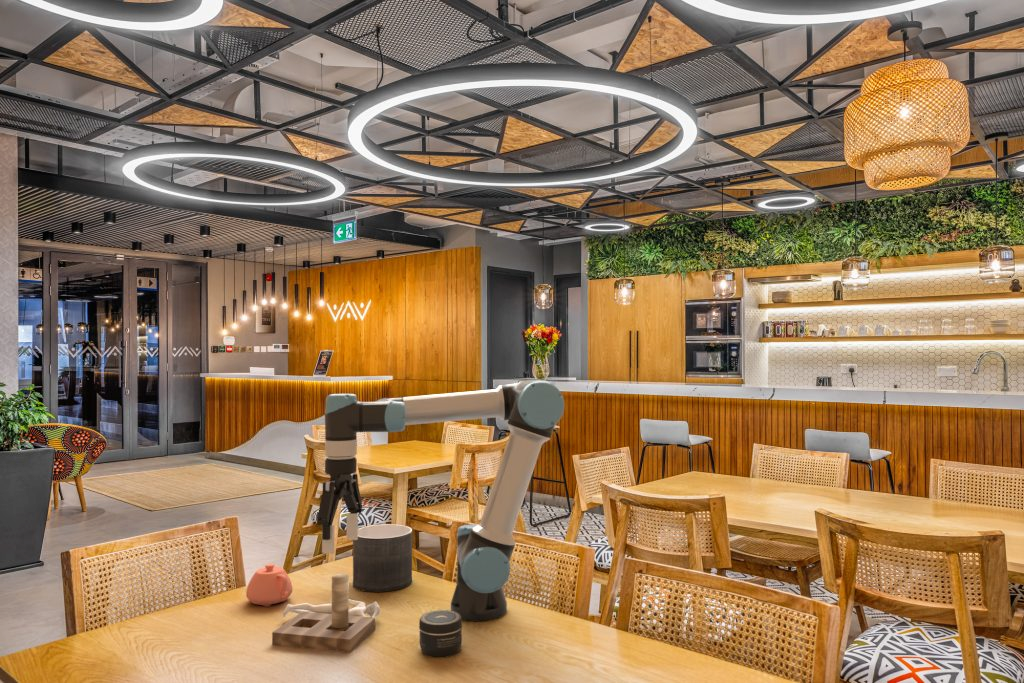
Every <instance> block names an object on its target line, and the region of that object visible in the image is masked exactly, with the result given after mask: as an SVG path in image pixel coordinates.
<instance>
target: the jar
mask: <svg viewBox="0 0 1024 683" xmlns="http://www.w3.org/2000/svg"><path fill="white" fill-rule="evenodd" d="M418 625H419V626H418V629H419V647H420V651H421V653H423V654H424V655H425V656H427V657H430V658H438V659H440V658H442V659H443V658H449V657H452V656H454V655H456V654H457V653H458V652H459V651H460V649H461V646H462V641H463V640H462V639H463V635H462V634H463V633H462V632H463V631H462V629H463V620H462V617H461V615H460V614H458V613H457V612H454V611H451V610H446V609H444V610H443V609H441V610H432V611H429V612H425V613H424V614H422V615H421V616H420V617H419V624H418Z"/></svg>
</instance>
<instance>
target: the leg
mask: <svg viewBox="0 0 1024 683" xmlns="http://www.w3.org/2000/svg"><path fill="white" fill-rule="evenodd" d="M349 577H350V576H349V574H347V573H338V574H334V575H332V576H331V600H332V601H331V603H332V625H331V628H332V630H339V631H346V630H347V629H348V628H349V610H350V609H349V606H350V603H349V599H350V598H349V596H350V594H349V593H350V592H349V591H350V590H349V587H350V586H349V584H350V583H349V582H350V579H349Z"/></svg>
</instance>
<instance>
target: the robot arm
mask: <svg viewBox="0 0 1024 683" xmlns="http://www.w3.org/2000/svg"><path fill="white" fill-rule="evenodd" d="M357 396H358V395H356V394H354V393H333V394H328V395H327V396H326V398H325V407H324V408H325V412H324V431H325V432H324V437H325V438H324V439H325V441H324V442H325V443H324V444H323V445H324V448H325V449H324V450H325V451H324V452H325V453H324V455H325V457H326V458H325V460H324V473H325V474H326V475H329V476H330V478H329V481H323V482H322V492H321V497H320V504H319V507H318V508H319V509H318V513H317V517H316V518H317V519H316V525H317V526H321V554H330V555H333V554H335V525H334V524H333V523H334V519H335V516H336V512H337V509H338V506H339V502H340V501H341V500H342V499H343V501H344V503H345V506H346V509H347V510H348V512H347V513H346V540H350V541H353V540H357V539H358V529H359V519H358V518H359V513H360V514H362V512H363V511H362V510H363V503H362V497H361V492H360V488H359V487H360V486H359V483H358V477H359V476H358V473H356V472H357V466H358V465H357V464H358V463H357V462H358V460H357V457H356V456H357V454H358V448H357V446H358V445H357V444H358V443H357V442H358V441H357V438H358V437H357V433H396V432H404V430H406V426H411V425H422V424H432V423H433V424H434V423H447V422H457V421H468V420H469V421H470V420H481V419H482V420H483V419H491V418H492V419H493V418H499V419H500V420H501V421H507V423H506V425H507V428H508V430H509V436H508V438H507V443H506V445H505V448H504V451H503V454H502V456H501V460H500V463H499V466H498V467H497V468H498V469H497V472H496V475H495V477H494V481H493V483H492V486H491V490H490V493H489V495H488V498H487V501H486V504H485V507H484V510H483V513H482V514H481V519H480V520H479V523H473V524H472V523H471V524H464V525H461V526H459V527H458V528H457V533H456V534H457V535H456V543H457V544H456V546H457V547H456V555H457V556H456V563H457V564H456V568H457V570H456V575H457V576H456V585H455V587H454V588H455V589H454V591H453V595H452V598H451V602H450V611H454V612H457V613H458V614H460V615H461V617H462V621H470V622H484V621H485V622H487V621H491V620H496V619H498V618H501V617H504V616H505V615H506V614H507V611H508V603H507V598H506V596H505V593H504V589H503V586H505V584H506V583H507V581H508V579H509V576H510V573H511V563H510V561H511V558H512V555H513V552H514V549H515V545H516V540H515V537H514V536H513V533H514V529H515V527H516V524H517V521H518V517H519V514H520V512H521V509H522V507H523V503H524V500H525V496H526V494H527V490H528V488H529V485H530V482H531V479H532V477H533V472H534V469H535V467H536V464H537V461H538V459H539V454H540V453H541V452H540V451H541V449H542V446H543V444H544V443H546V442H548V441H550V440H551V439H552V435H553V432H554V429H555V426H556V425H557V424H558V423H559V422H560V420H561V419H562V417H563V414H564V412H565V399H564V397H563V394H562V392H561V390H560V389H559V388H558V387H557V386H556V385H554V384H553V383H552V382H549V381H547V380H543V379H526V380H524V381H523V380H522V381H517V382H515V383H508V384H507V383H506V384H500V385H498V386H497V388H495V389H485V390H484V389H483V390H474V391H473V390H472V391H470V390H469V391H463V392H462V391H461V392H460V391H459V392H448V393H438V394H436V393H435V394H427V395H426V394H425V395H414V396H412V395H411V396H403V397H390V398H389V397H382V398H379V399H377V400H375V401H359V400H358V398H357Z"/></svg>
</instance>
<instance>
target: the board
mask: <svg viewBox="0 0 1024 683" xmlns="http://www.w3.org/2000/svg"><path fill="white" fill-rule="evenodd" d="M331 625H332V614H325V613H315V612H314V613H313V612H301V613H300V614H298V613H297V615H296V616H294V617H292V618H291V619H290V620H288V621H286V623H284V624H282V625H281V626H280V627H278V628H277V629H275V630H273V631H272V632H271V638H272V640H271V646H278V647H289V648H298V649H307V650H308V649H309V650H317V651H318V650H319V651H330V652H340V653H341V652H342V653H351V652H352V651H353V650H355V649H356V648H357V647H358V646H359V645H360V644H362V642H363V641H365V640H366V639H367V638H368V637H369V636H370V635H371V634H372V633H373V632H374V631H376V617H375V618H372V617H371V616H369V617H368V616H366V617H360V616H349V628H348V629H347V630H346V631H339V630H332V628H331Z"/></svg>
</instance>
